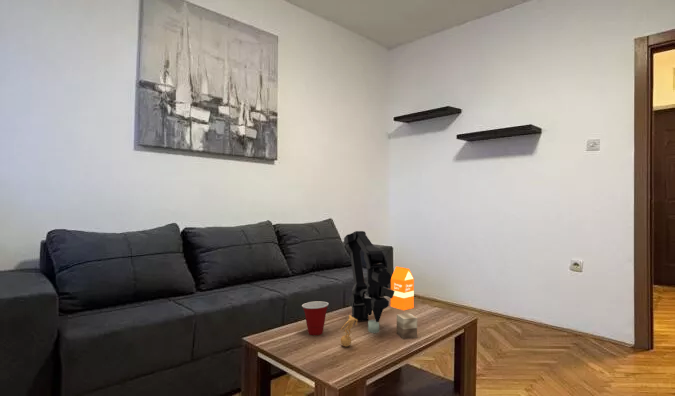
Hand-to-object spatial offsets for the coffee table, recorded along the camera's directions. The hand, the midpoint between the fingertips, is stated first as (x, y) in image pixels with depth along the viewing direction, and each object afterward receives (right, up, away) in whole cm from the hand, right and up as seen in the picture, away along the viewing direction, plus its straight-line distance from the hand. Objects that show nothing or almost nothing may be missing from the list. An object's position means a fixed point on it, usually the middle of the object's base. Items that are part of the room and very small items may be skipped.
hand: (373, 318), depth 158 cm
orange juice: (+18, -6, +35) cm, 40 cm away
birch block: (+13, -1, -5) cm, 14 cm away
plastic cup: (-24, -5, -3) cm, 25 cm away
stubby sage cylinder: (0, -5, 0) cm, 5 cm away
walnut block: (+13, -5, -5) cm, 15 cm away
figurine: (-11, -5, -17) cm, 21 cm away
